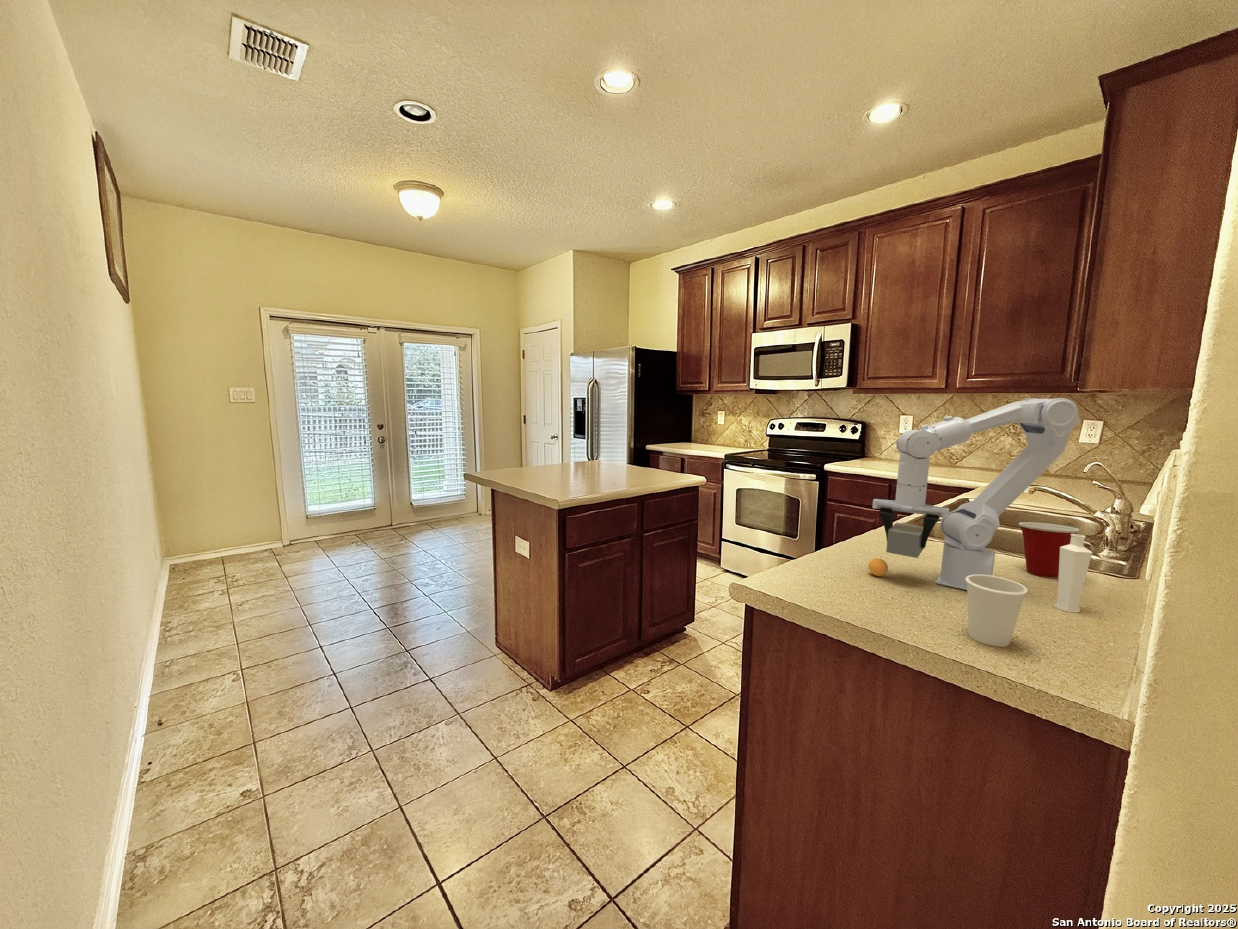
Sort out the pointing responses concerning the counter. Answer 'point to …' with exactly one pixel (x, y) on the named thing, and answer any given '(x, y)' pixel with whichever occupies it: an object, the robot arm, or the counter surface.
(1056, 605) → the perfume bottle
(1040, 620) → the counter surface
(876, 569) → the ball
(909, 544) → the gray block
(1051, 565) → the plastic cup
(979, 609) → the dixie cup
